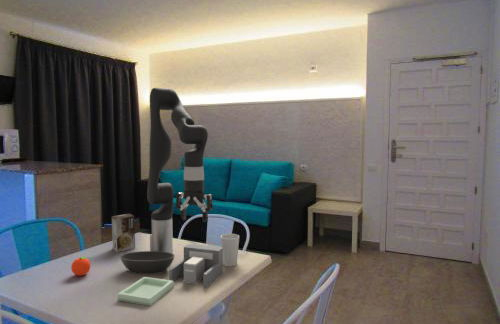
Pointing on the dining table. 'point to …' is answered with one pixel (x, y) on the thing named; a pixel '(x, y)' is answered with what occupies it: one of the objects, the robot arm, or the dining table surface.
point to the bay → (212, 262)
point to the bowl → (147, 261)
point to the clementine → (81, 266)
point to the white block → (194, 270)
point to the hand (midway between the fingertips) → (194, 220)
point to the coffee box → (123, 232)
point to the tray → (146, 291)
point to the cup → (230, 249)
